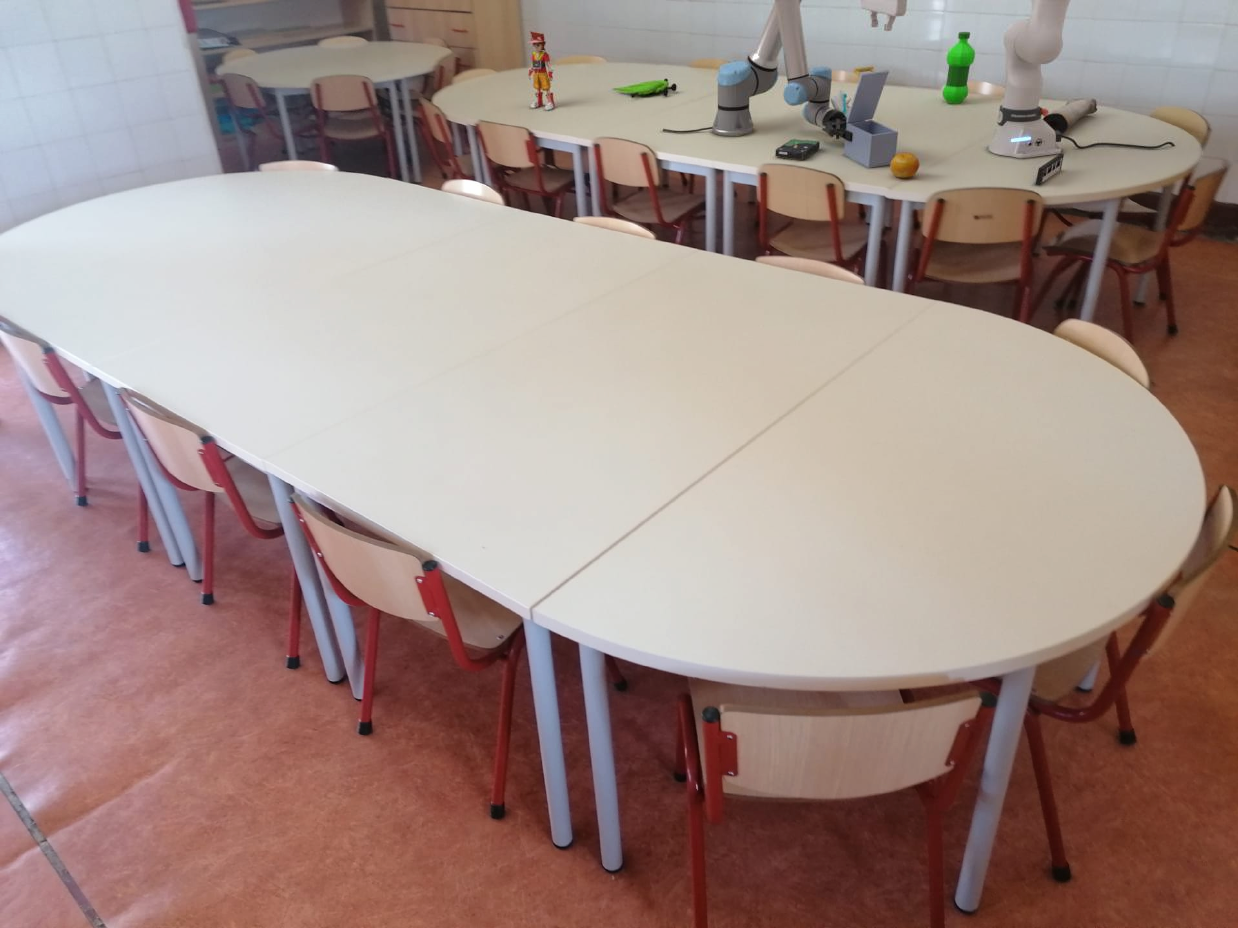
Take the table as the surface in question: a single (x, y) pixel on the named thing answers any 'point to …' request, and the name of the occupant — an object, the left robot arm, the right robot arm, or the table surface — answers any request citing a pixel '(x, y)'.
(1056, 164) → the midi keyboard
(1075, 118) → the rolled mat
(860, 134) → the chest
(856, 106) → the lid
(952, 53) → the plastic bottle
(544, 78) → the toy
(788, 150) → the disk drive
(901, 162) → the fruit
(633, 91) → the toy
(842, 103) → the anatomical model
